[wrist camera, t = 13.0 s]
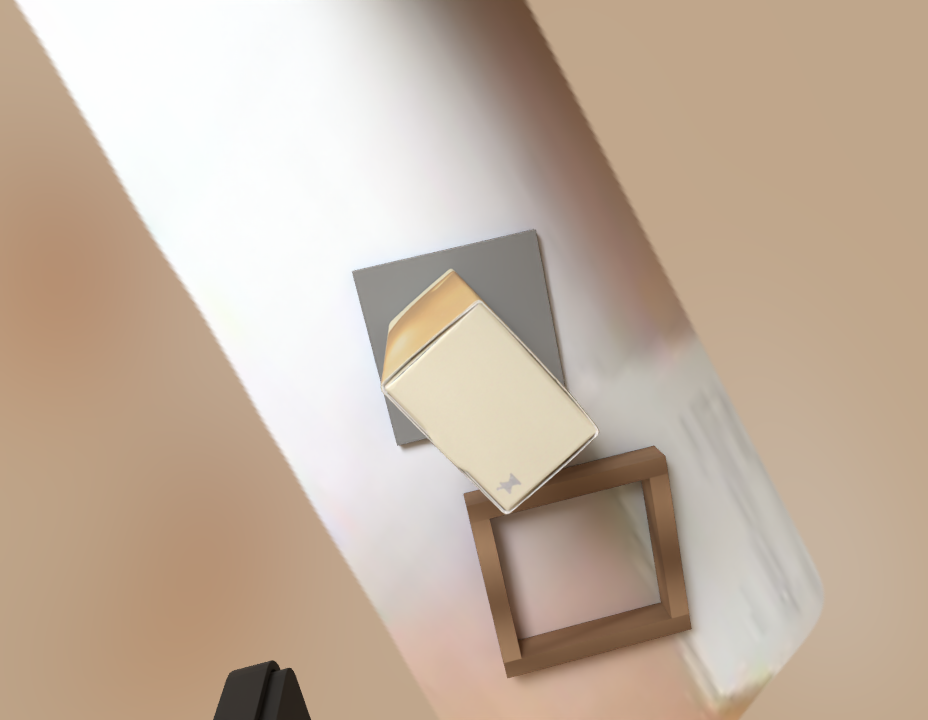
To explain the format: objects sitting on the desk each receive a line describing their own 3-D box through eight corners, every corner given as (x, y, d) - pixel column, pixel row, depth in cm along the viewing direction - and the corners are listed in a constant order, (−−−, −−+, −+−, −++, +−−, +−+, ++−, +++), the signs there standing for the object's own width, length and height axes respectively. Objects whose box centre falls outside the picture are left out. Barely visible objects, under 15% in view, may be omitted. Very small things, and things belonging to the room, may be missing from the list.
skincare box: (532, 355, 33) (612, 438, 21) (468, 412, 33) (512, 526, 22) (446, 260, 32) (481, 293, 20) (380, 321, 32) (375, 389, 20)
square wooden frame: (463, 493, 35) (466, 506, 34) (654, 445, 36) (665, 456, 34) (502, 660, 38) (507, 678, 36) (679, 612, 38) (691, 628, 37)
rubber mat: (352, 271, 32) (352, 271, 31) (533, 229, 32) (535, 229, 32) (397, 442, 34) (397, 445, 33) (565, 400, 34) (568, 403, 34)
